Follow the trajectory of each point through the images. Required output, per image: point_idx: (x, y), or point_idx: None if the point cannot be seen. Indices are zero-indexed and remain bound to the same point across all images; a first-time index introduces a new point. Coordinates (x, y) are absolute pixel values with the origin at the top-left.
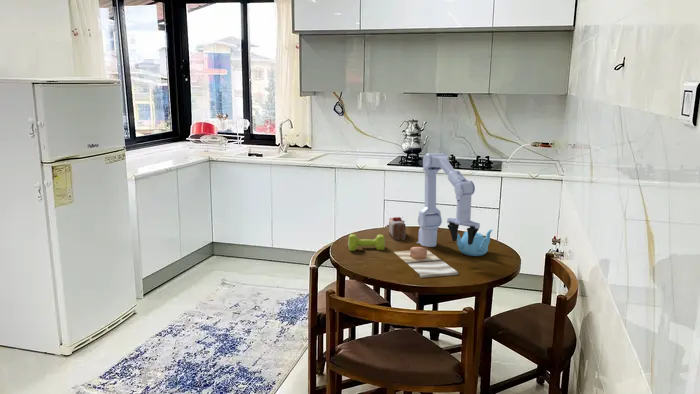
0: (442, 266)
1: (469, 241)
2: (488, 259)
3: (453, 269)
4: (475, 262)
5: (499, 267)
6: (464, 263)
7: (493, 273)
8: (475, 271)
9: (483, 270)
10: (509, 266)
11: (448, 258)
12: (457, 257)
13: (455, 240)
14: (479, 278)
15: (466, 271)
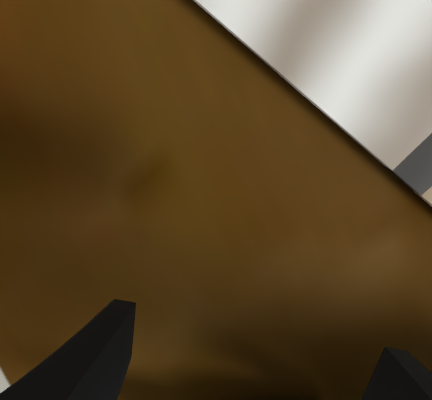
0: (346, 24)
1: (85, 327)
2: (159, 396)
3: (226, 13)
4: (193, 315)
5: (42, 308)
6: (242, 259)
7: (3, 187)
8: (105, 149)
9: (78, 203)
10: (16, 351)
11: (382, 293)
12: (332, 342)
13: (373, 383)
14: (2, 14)
15: (152, 105)
